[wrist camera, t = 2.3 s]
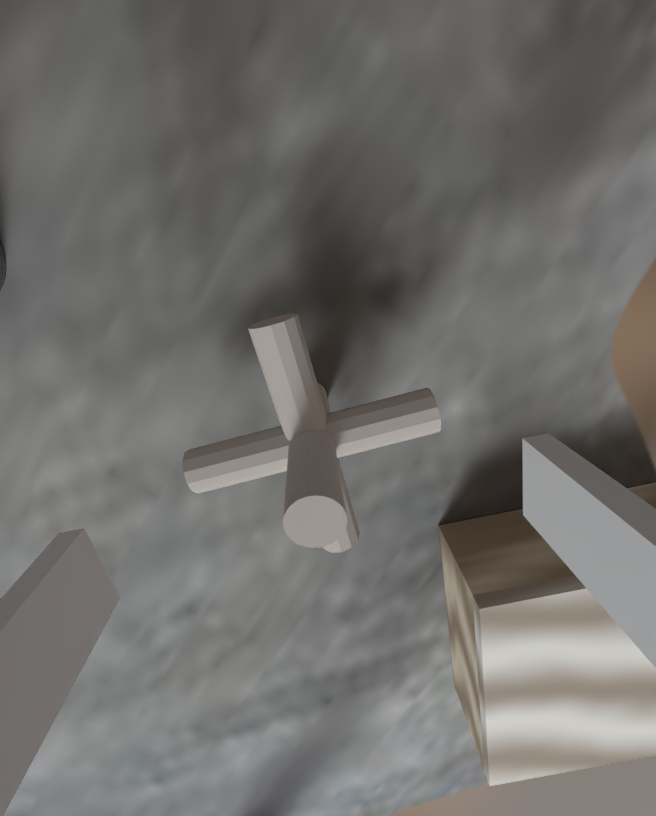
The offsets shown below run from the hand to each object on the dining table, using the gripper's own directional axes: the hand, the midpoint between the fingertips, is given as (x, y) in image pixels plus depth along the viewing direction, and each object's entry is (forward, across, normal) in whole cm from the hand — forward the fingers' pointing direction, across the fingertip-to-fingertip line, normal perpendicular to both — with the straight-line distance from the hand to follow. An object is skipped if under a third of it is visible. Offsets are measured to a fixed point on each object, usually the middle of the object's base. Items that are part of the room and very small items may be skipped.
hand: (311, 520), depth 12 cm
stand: (+10, +14, -17) cm, 24 cm away
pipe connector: (+10, 0, +1) cm, 10 cm away
